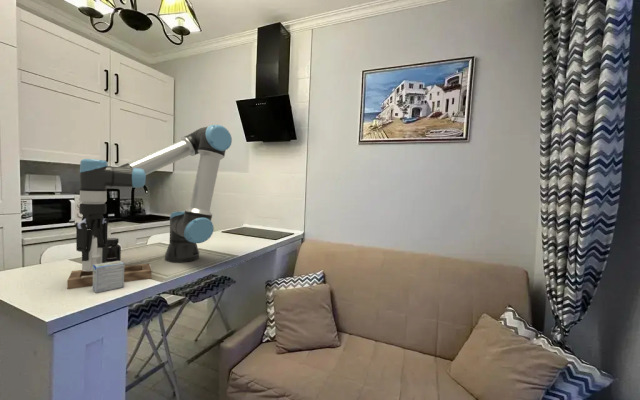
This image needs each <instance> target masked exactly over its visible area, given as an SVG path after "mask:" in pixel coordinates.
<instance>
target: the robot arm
mask: <svg viewBox="0 0 640 400" xmlns="http://www.w3.org/2000/svg"><path fill="white" fill-rule="evenodd" d="M232 141H233V139H232V134H231V133H230V132H229V129H227V128H226V127H225V126H223V125H220V124H211V125H209V126H203V127H201V128H199V129H196V130H194V131H193V132H191V133H189V134H187V135H184V136H183V137H181V140H179V141H177V142H174V143H171V144H169V145H167V146H165V147H162V148H159V149H158V150H155V151H153V152H151V153H147V154H146V155H143V156H141V157H138V158H136V159H134V160H131V161H128V162H126V163H124V164H121V165H120V166H113V165H109V164H108V162H107V160H104V159H92V158H83V159H82V160H80V163H79V202H80V203H79V206H78V208H79V209H78V211H79V214H80V215H82V218H81V221H80V222H75V223H74V225H75V226H74V227H75V229H76V230H75V231H76V235H75V236H76V239H75V243H76V252H81V263H82V264H81V270H91V269H92V251H90V249H91V243H92V238H93V236H94V237H96V238H97V255H101V256H100V257H98V258H96V262H97V263H98V264H100V263H102V248H103V247H106V245H105V244H107V228H108V226H109V218H106V217H105V218H104V214H106V213H107V203H106V202H107V200H108V198H107V197H108V196H107V195H108V193H107V192H108V190H107V188H108V187H110V188H112V187H114V188H144V186H145V184H146V179H147V178H146V177H147V175H149V174H151V173H153V172H156V171H157V170H160V169H162V168H164V167H167V166H169V165H172V164H173V163H175V162H178V161H180V160H182V159H184V158H186V157H188V156H191V157H194V156H196V155H198V154H199V155H200V156H199V159H198V160H199V161H198V166H197V169H196V170H197V171H196V176H195V181H194V185H193V189H192V194H191V198H190V203H189V207H188V208H186V209H185V210H184V211H173V212H171V213H170V215H169V216H170V217H169V243H168V246H167V248H166V251H165V254H164V260H165V261H167V262H170V263H186V262H192V261H193V262H194V261H195V260H196V261H197V260H199V259H200V251H199V247H198V244H203V243H205V242H206V241H209V239H210V238H211V237H212V236H213V233H214V231H215V228H214V224H213V222H212V218H213V213H212V212H211V206H212V202H213V201H212V200H213V195H214V190H215V185H216V182H217V178H218V177H217V176H218V171H219V168H220V162H221V160H223V159H224V158H225V155H226V152H227V150H228V149H229V148H230V147H231V146H232Z"/></svg>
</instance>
